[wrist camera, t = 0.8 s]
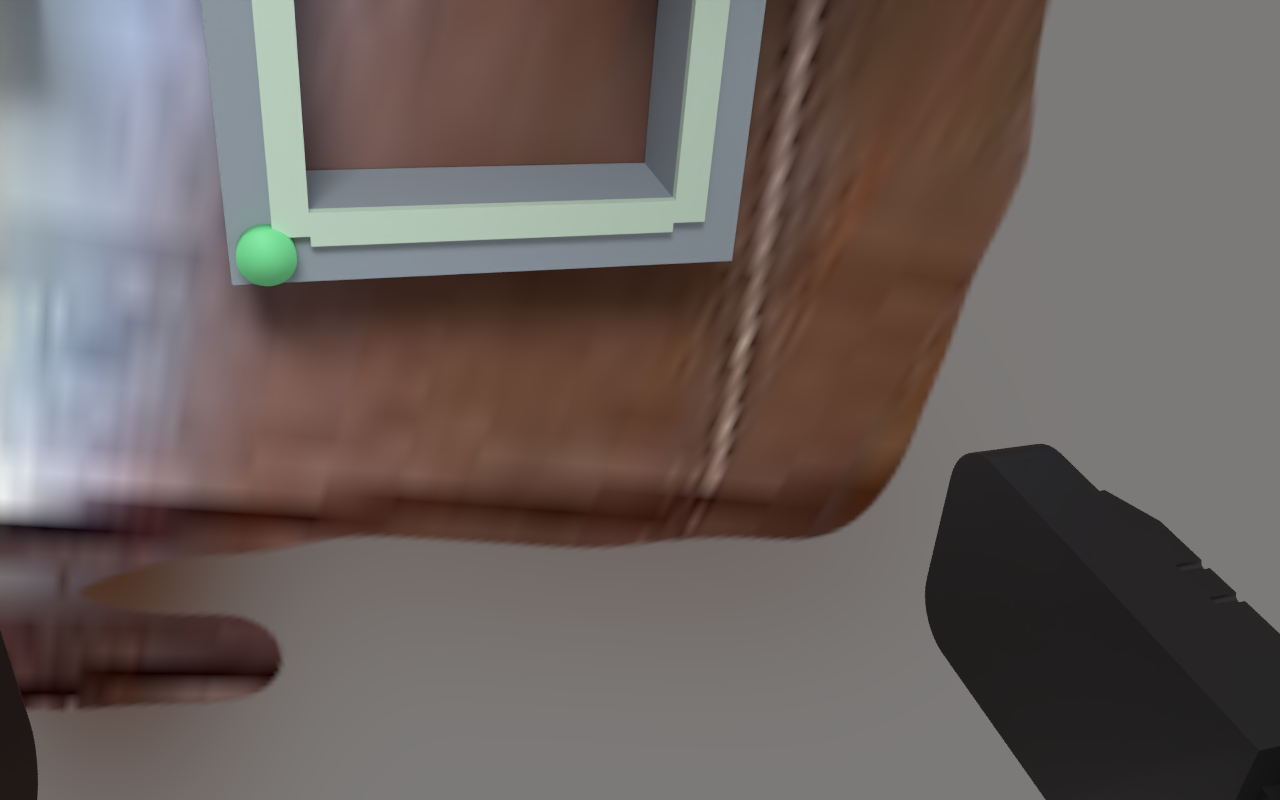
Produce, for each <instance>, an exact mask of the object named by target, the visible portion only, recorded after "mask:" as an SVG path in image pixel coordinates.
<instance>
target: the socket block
mask: <svg viewBox="0 0 1280 800" xmlns="http://www.w3.org/2000/svg"><path fill="white" fill-rule="evenodd" d="M765 6H766V0H658V9H657V21H656V33H655V44H654V56H653V68H652V80H651V91H650V103H649V115H648V126H647V138H646V150H645V161H644V163H613V164H569V165H525V166H481V167H437V168H393V169H349V170H306V167H305V153H304V139H303V124H302V110H301V96H300V82H299V68H298V54H297V39H296V25H295V11H294V0H201V8H202V17H203V27H204V36H205V45H206V54H207V63H208V72H209V81H210V90H211V99H212V108H213V117H214V126H215V135H216V144H217V153H218V162H219V171H220V180H221V189H222V199H223V208H224V217H225V226H226V235H227V244H228V253H229V262H230V271H231V280H232V285H247V284H257V285H261V286H274V285H278V284H281V283H288V282H308V281H329V280H349V279H370V278H390V277H411V276H431V275H452V274H473V273H493V272H514V271H534V270H555V269H575V268H596V267H616V266H637V265H657V264H678V263H699V262H719V261H732V257H733V249H734V242H735V234H736V227H737V219H738V211H739V204H740V196H741V189H742V181H743V173H744V166H745V158H746V151H747V143H748V135H749V128H750V120H751V113H752V105H753V97H754V90H755V82H756V75H757V67H758V59H759V52H760V44H761V37H762V29H763V21H764V14H765Z"/></svg>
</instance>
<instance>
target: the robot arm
mask: <svg viewBox="0 0 1280 800" xmlns="http://www.w3.org/2000/svg"><path fill="white" fill-rule="evenodd" d="M925 589H926V590H925V603H926V611H927V616H928V621H929V624H930V628H931V631H932V633H933V636H934V639H935V641H936V643H937V645H938V647H939V648H940V650H941V652H942V653H943V655H944V656H945V657H946V659H947V660H948V662H949V663H950V665H951V666H952V667H953V669H954V670H955V672H956V673H957V674H958V676H959V677H960V679H961V680H962V682H963V683H964V684H965V686H966V687H967V689H968V690H969V692H970V693H971V694H972V696H973V697H974V699H975V700H976V702H977V703H978V704H979V705H980V707H981V709H982V710H983V711H984V713H985V714H986V716H987V717H988V718H989V720H990V721H991V723H992V724H993V726H994V727H995V728H996V730H997V731H998V733H999V734H1000V735H1001V737H1002V738H1003V740H1004V741H1005V743H1006V744H1007V745H1008V747H1009V748H1010V750H1011V751H1012V752H1013V754H1014V755H1015V757H1016V758H1017V760H1018V761H1019V763H1020V764H1021V765H1022V767H1023V768H1024V770H1025V771H1026V772H1027V774H1028V775H1029V777H1030V778H1031V779H1032V781H1033V782H1034V784H1035V785H1036V786H1037V788H1038V789H1039V791H1040V792H1041V794H1042V795H1043V797H1044V798H1045V799H1046V800H1280V634H1279V633H1278V632H1277V631H1276V630H1275V629H1274V628H1273V627H1272V626H1271V625H1270V624H1269V623H1268V622H1267V621H1266V620H1264V619H1263V618H1262V617H1261V616H1260V615H1259V614H1258V613H1257V612H1256V611H1255V610H1254V609H1253V608H1252V607H1251V606H1250V605H1248V603H1246V602H1245V601H1243V602H1238V601H1237V599H1236V592H1235V591H1234V590H1233V589H1231V587H1229V586H1228V585H1227V584H1226V583H1225V582H1224V581H1223V580H1222V579H1221V578H1220V577H1219V576H1218V575H1217V574H1216V573H1215V572H1213V571H1212V570H1211V569H1210V568H1208V569H1203V567H1202V565H1201V559H1200V558H1199V557H1197V556H1196V555H1195V554H1194V553H1193V552H1192V551H1191V550H1190V549H1189V548H1188V547H1187V546H1186V545H1185V544H1184V543H1183V542H1181V541H1180V540H1179V539H1178V538H1177V537H1176V536H1175V535H1174V534H1173V533H1172V532H1171V531H1170V530H1169V529H1168V528H1167V527H1166V526H1165V525H1164V524H1162V523H1161V522H1160V521H1159V520H1157V519H1155V518H1153V517H1151V516H1150V515H1148V514H1146V513H1144V512H1143V511H1141V510H1139V509H1137V508H1136V507H1134V506H1132V505H1130V504H1128V503H1127V502H1125V501H1123V500H1121V499H1119V498H1118V497H1116V496H1114V495H1112V494H1111V493H1109V492H1107V491H1105V490H1103V491H1099V490H1098V489H1097V488H1096V487H1095V486H1093V485H1092V484H1091V483H1090V482H1089V481H1088V480H1087V479H1086V478H1085V477H1084V476H1083V475H1082V474H1081V473H1080V472H1079V471H1078V470H1077V469H1076V468H1075V467H1074V466H1073V465H1072V464H1071V463H1070V462H1069V461H1068V460H1067V459H1066V458H1065V457H1064V456H1063V455H1062V454H1061V453H1059V452H1058V451H1057V450H1056V449H1054V448H1052V447H1051V446H1049V445H1045V444H1034V445H1027V446H1019V447H1012V448H1005V449H997V450H990V451H982V452H974V453H968V454H966V455H964V456H963V457H961V458H960V459H959V461H958V462H957V463H956V465H955V467H954V469H953V471H952V475H951V479H950V482H949V487H948V491H947V495H946V500H945V504H944V508H943V512H942V516H941V521H940V525H939V529H938V534H937V538H936V542H935V546H934V550H933V555H932V559H931V563H930V567H929V572H928V576H927V581H926V587H925ZM37 794H38V770H37V757H36V748H35V742H34V737H33V732H32V728H31V725H30V721H29V718H28V715H27V712H26V709H25V705H24V702H23V699H22V696H21V693H20V690H19V687H18V684H17V681H16V677H15V674H14V671H13V668H12V665H11V662H10V659H9V656H8V653H7V649H6V646H5V643H4V640H3V637H2V634H1V631H0V800H37Z"/></svg>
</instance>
